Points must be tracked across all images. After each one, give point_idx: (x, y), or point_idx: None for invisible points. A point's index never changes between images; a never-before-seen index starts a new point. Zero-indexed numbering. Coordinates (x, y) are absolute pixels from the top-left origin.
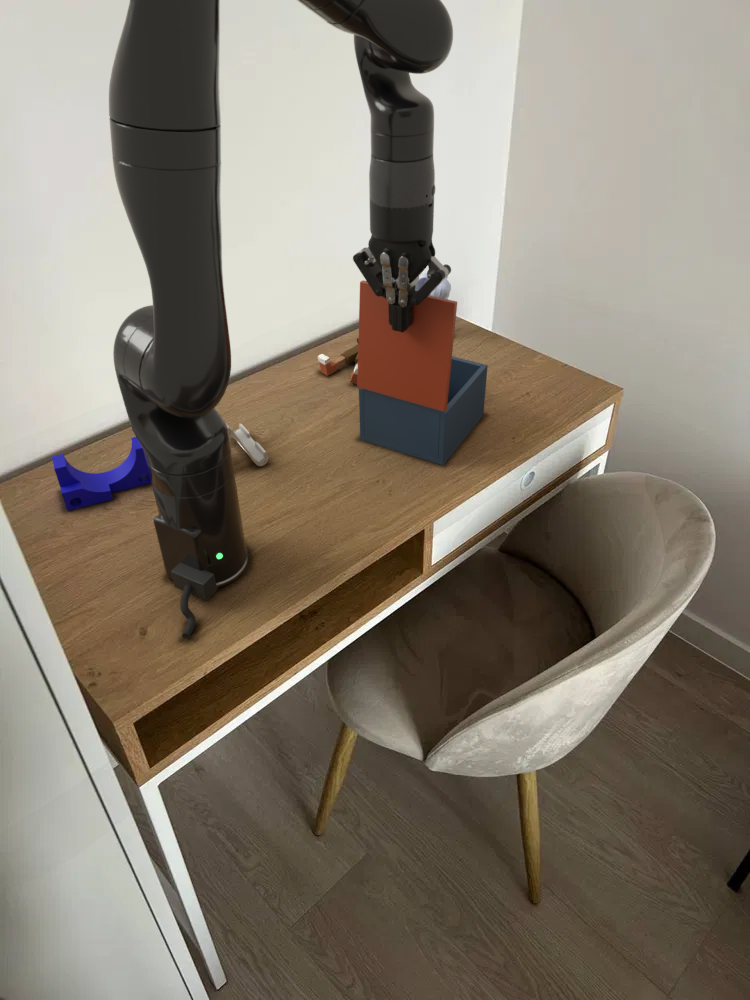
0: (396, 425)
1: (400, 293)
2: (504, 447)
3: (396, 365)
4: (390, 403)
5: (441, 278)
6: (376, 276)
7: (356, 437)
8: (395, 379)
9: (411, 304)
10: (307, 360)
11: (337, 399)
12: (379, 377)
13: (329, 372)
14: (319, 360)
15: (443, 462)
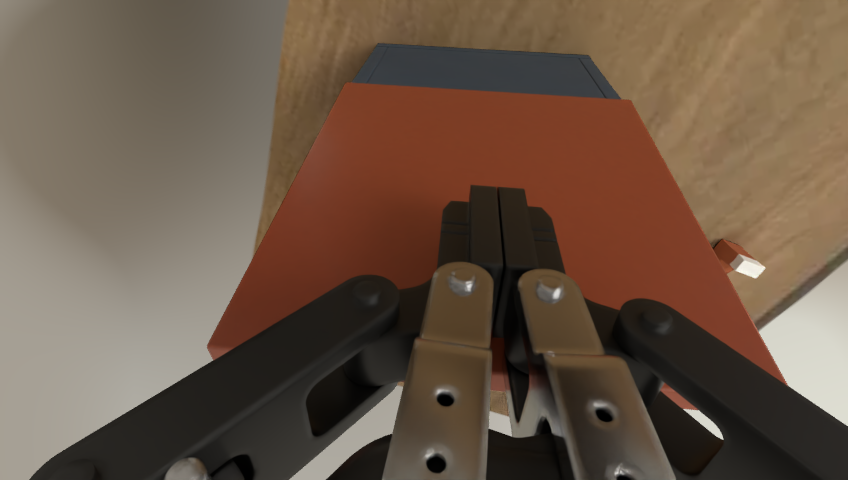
0: (495, 70)
1: (479, 325)
2: (303, 151)
3: (506, 143)
4: (517, 91)
5: (50, 471)
6: (708, 440)
7: (599, 60)
8: (505, 118)
9: (414, 287)
10: (778, 271)
11: (681, 175)
12: (562, 119)
13: (720, 246)
14: (756, 261)
15: (376, 46)
